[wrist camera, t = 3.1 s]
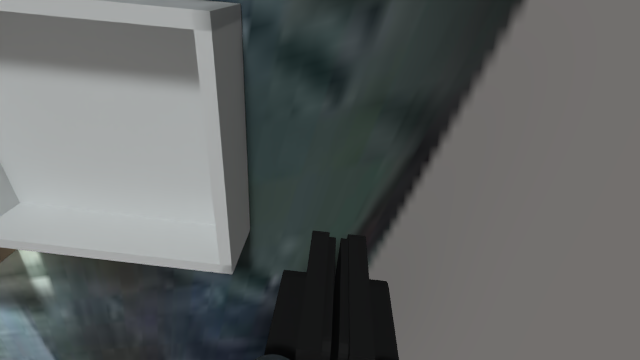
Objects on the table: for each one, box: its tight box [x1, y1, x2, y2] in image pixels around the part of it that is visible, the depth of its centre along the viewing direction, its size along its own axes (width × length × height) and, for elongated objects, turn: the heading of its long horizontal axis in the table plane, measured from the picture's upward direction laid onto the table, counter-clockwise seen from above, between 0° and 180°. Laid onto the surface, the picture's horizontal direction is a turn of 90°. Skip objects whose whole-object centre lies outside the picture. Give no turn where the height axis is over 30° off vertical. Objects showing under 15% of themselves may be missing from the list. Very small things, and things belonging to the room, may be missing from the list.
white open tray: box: [0, 0, 250, 274], centre depth 15 cm, size 14×12×4 cm
